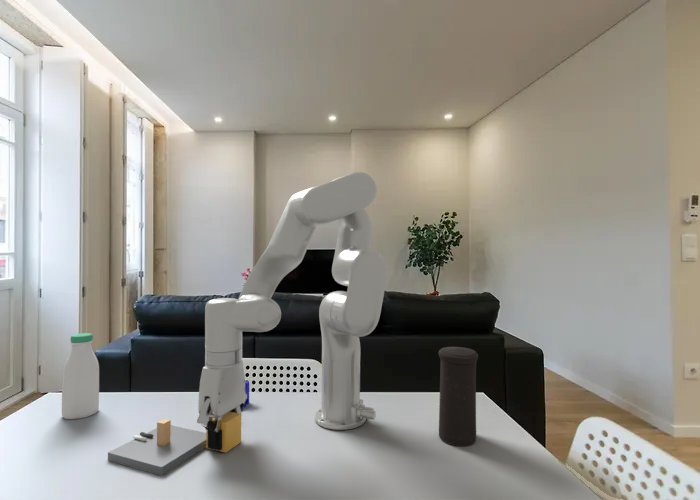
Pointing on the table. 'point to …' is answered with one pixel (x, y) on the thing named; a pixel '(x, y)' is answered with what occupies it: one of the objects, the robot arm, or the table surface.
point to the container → (457, 396)
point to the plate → (159, 448)
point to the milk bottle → (80, 379)
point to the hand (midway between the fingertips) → (224, 441)
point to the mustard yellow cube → (229, 430)
